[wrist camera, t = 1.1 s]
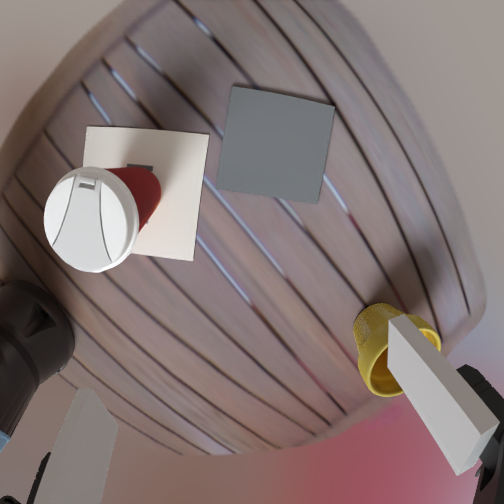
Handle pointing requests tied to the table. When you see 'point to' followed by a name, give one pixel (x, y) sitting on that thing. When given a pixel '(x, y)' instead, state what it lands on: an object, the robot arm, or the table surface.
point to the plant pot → (382, 346)
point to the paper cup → (99, 214)
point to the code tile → (168, 174)
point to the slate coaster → (274, 145)
